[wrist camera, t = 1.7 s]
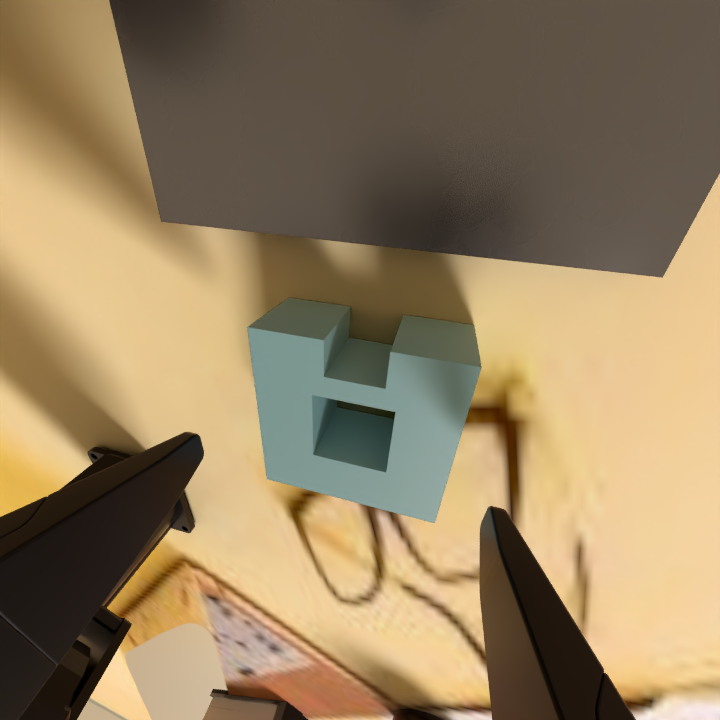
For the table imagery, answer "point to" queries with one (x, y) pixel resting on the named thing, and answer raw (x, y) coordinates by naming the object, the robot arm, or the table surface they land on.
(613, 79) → the base plate
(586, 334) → the table surface
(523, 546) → the robot arm
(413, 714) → the supplement bottle
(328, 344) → the flange block
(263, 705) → the book
